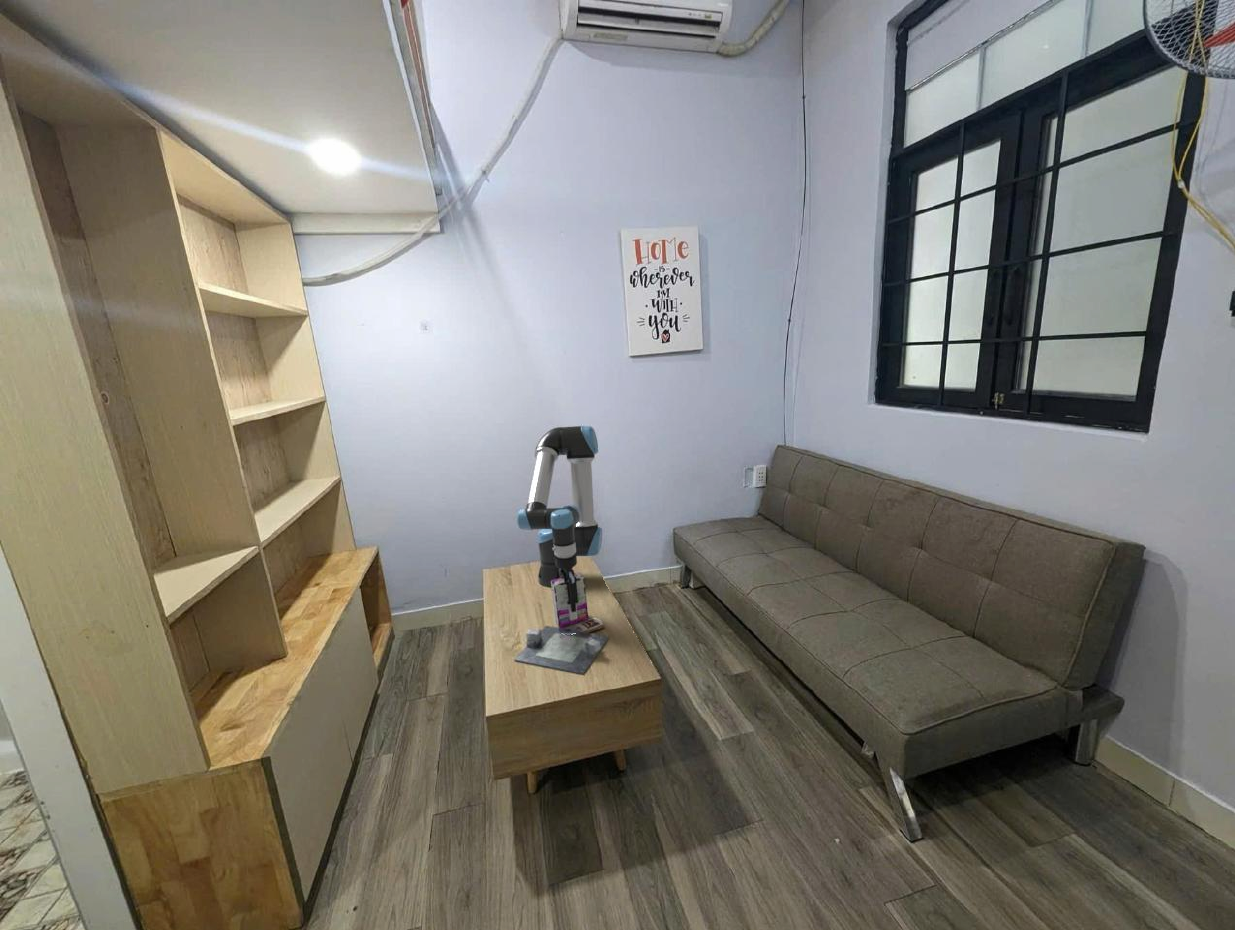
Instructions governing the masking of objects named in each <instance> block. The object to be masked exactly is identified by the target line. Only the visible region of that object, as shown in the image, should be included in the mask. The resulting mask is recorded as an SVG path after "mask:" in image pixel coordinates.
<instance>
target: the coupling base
mask: <svg viewBox="0 0 1235 930" xmlns="http://www.w3.org/2000/svg"><path fill="white" fill-rule="evenodd" d="M561 633H576V634H573V635H571V634H570V635H563V634H561ZM525 637H526V641H525V644H526V646H525V648H523V649H522V650H521V652H520V653H519V654H518V655H517V656H516V657H515V658H514V660H513V661H515V662H518V663H523V664H528V665H533V666H537V667H544V668H549V669H553V670H557V671H558V670H559V671H564V672H568V673H573V674H579V675H585V673H586V672H587V670H588V669H589V668H590V666H591V664H592V663H593V662H594V660H595V658H596V657H597V656H598V654H599V653H600V651H601V650H602V648H603V647H604V646H605V644H606V643H607V641H608V640H609V638H610V636H609V635H606V634H605V635H604V634H598V633H594V632H592V633H591V632H586V631H580V630H574V629H569V628H568V629H567V628H564V627H561V628H559V627H558V626H557V627H556V626H550V625H545V626H544V627H543V629H541V628H537V629H527V631H526V632H525Z"/></svg>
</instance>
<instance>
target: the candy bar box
mask: <svg viewBox="0 0 1235 930" xmlns="http://www.w3.org/2000/svg"><path fill="white" fill-rule="evenodd" d="M574 577H576V578H577V581H576V584H577V594H578V603H576V606H577V616H578V619H574V620H571V621H570V617H569V607H568V604H567V602H569V599H568V592H567V585H566V584H565V582H564V577H563V578H558V579H555V580H551V587H550V588H551V593H552V603H553V610H554V618H555V620H554V621H555V623H556V625H557V628H564V627H568V626H571V625H574V624H578V623H581V622H585V621H588V620H589V612H588V603H587V594H586V593H587V592H586V582H585V577H584V576H583V575H582V574H581V573H580V572H579V573H574ZM566 582H569V581H566Z"/></svg>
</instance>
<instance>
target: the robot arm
mask: <svg viewBox="0 0 1235 930" xmlns="http://www.w3.org/2000/svg"><path fill="white" fill-rule="evenodd" d="M598 443H599V442H598V437H597V433H596V431H595V429H594V428H593V427H592V426H590V425H578V426H577V425H575V426H563V427H562V426H558V427H554V428H552V429H550V430H548V431H547V432H546V433H544V434H543V435H542V437H541V438H540V439H539V440H538V443H537V444H536V447H535V450H534V458H535V463H534V467H533V471H532V477H531V483H530V488H529V493H528V497H527V503H526V507H525V508H522V509H519V511H518V512H517V516H516V518H517V519H516V520H517V521H516V522H517V525H518V528H519V529H521V530H527V531H528V530H529V531H532V530H534V531H536V530H539V531H538V533H537V538H538V539H537V540H538V541H537V543H538V549H539V559H540V566H539V571H538V573H537V574H538V576H537V578H538V579H537V580H538V583H539V585H541V586H544V587H550V588H552V587H551V580H555V579H558V578H563V577H564V582H565V584H566V585H567V592H568V599H569V602H567V604H568V607H569V617H570V621H571V620H574V619H578V616H577V606H576V603H578V594H577V584H576V581H577V578H576V577H574V574H575V570H574V569H573V567H575V566H576V565H577V564H578V559H577V557H593V556H594V557H595V556H598V555H599V554H600V552H601V549H602V548H601V547H602V541H603V528H602V527H600V526H599V522H598V521H596V519H595V510H594V494H593V493H594V491H593V474H592V473H593V472H592V467H593V466H592V462H593V461H594V460H595V458H596V457H595V455H597V454H598V453H599V445H598ZM559 456H566V460H567V462H569V463H570V475H571V495H572V496H571V497H572V504H567V505H564V506H563V507H554V508H553V507H551V508H548V503H549V496H550V492H551V487H552V486H551V485H552V479H553V474H554V467H555V463H556V462H557V461H558V459H559ZM566 581H569V582H566Z"/></svg>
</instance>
